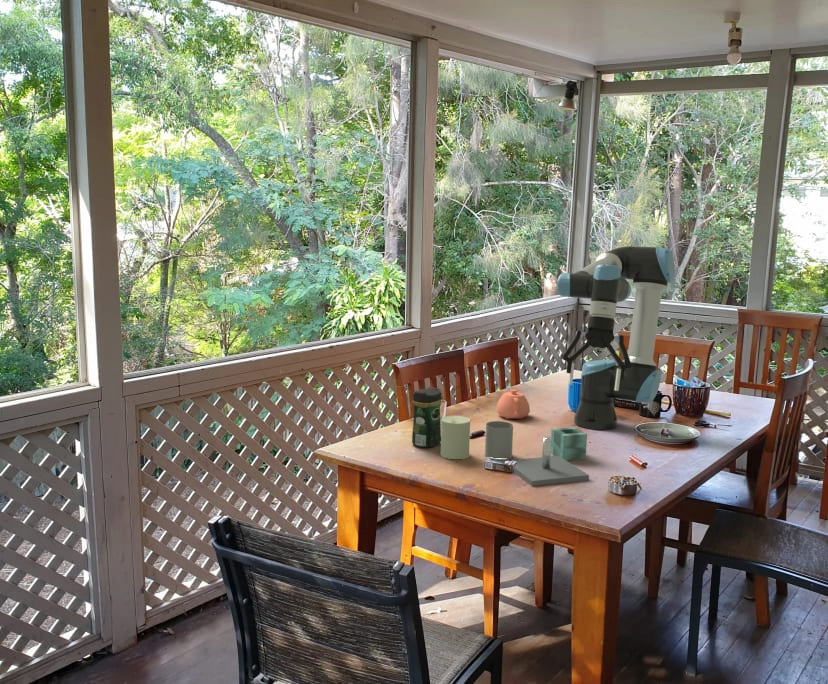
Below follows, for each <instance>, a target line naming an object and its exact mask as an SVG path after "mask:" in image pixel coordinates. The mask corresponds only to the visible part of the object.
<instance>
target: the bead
mask: <svg viewBox="0 0 828 684" xmlns="http://www.w3.org/2000/svg"><path fill="white" fill-rule="evenodd" d="M550 437H551V438H552V440H551V455H552V456H560V457H561V458H563V459H564V460H566V461H568V462H569V461H578V460H586V459H587V444H588V443H587V440H588V433H587V432H584V431H582V430H580V429H579V428H576V427H575V426H571V427H570V426H569V427H568V426H567V427H557V428H551V430H550Z"/></svg>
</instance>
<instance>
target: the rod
mask: <svg viewBox="0 0 828 684" xmlns="http://www.w3.org/2000/svg"><path fill="white" fill-rule="evenodd" d="M551 440H552V438H551V436H544V437H542V452H541V453H542V455H541V457H542V468H543V469H550V459H551V455H552V454H551Z"/></svg>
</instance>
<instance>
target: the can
mask: <svg viewBox="0 0 828 684" xmlns="http://www.w3.org/2000/svg"><path fill="white" fill-rule="evenodd" d="M440 428H441V442H440V453H439V456H440V455H441V456H442V457H441V456H440V457H441V458H443V457H444V458H443V459H446V458H448V459H447V460H450V459H462V460H466V459H468V458H470V456H471V454H470V442H471V441H470V439H471V438H470V436H471V433H470V432H471V419H470V418H469V417H466V416H462V415H447V416H443V417H440ZM465 458H466V459H465Z"/></svg>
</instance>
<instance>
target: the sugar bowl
mask: <svg viewBox="0 0 828 684" xmlns="http://www.w3.org/2000/svg"><path fill="white" fill-rule="evenodd" d="M495 410H496V413H498V415H499V416H500V417H503V418H504V419H506V420H509V419H518V420H523V419H524V418H526V417H527V416H528V415H529V414H530V412H531V409H530V404H529V401H528V399H527V397H526V396H525V394H523V393H522V392H518V390H517V389H510V391H506V392H504V393H503V394H502V395H501V397H500V398H499V400H498V401H497V403H496V409H495Z"/></svg>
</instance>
